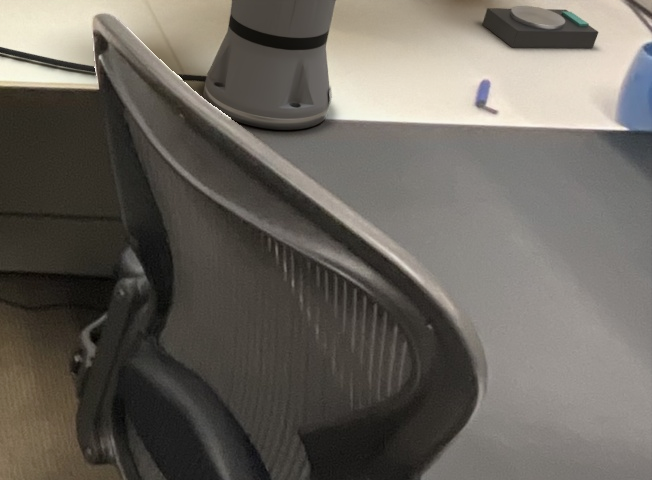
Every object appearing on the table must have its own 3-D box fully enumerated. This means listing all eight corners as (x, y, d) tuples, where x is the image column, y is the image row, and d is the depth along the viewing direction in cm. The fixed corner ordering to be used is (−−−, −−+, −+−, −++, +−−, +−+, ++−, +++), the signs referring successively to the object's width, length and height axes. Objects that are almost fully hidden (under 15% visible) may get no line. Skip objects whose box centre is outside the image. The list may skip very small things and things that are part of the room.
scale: (512, 47, 160) (519, 26, 158) (482, 24, 166) (488, 3, 164) (592, 48, 164) (600, 27, 162) (560, 25, 170) (567, 5, 168)
